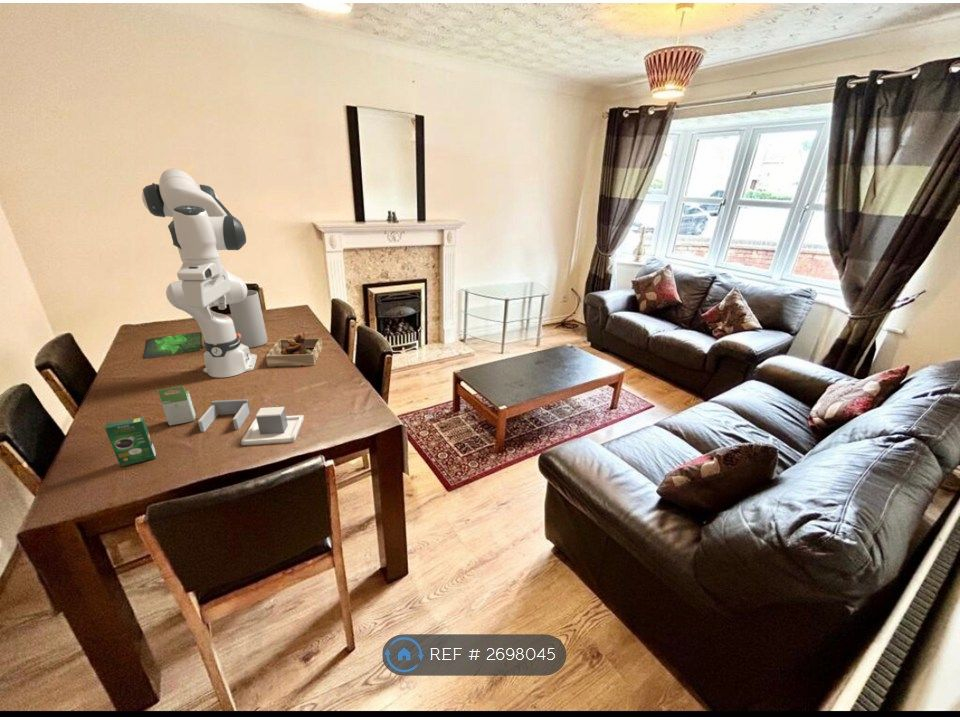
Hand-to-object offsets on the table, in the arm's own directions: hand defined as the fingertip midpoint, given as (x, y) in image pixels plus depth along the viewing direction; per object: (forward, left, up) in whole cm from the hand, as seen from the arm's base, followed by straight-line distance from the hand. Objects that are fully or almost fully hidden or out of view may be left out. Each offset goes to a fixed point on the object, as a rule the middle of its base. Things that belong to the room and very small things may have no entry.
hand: (216, 313), depth 115 cm
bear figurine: (-48, +6, -37) cm, 61 cm away
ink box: (0, -18, -37) cm, 41 cm away
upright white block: (+10, +13, -36) cm, 40 cm away
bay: (+2, -4, -37) cm, 37 cm away
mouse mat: (-69, -53, -37) cm, 95 cm away
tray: (+10, +13, -37) cm, 40 cm away
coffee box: (+20, -20, -37) cm, 47 cm away
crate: (-50, +6, -37) cm, 62 cm away
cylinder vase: (-68, -18, -37) cm, 80 cm away
